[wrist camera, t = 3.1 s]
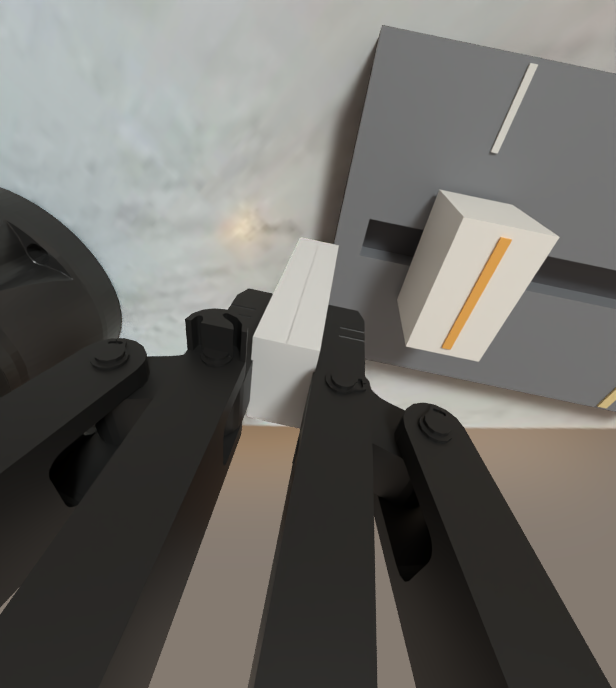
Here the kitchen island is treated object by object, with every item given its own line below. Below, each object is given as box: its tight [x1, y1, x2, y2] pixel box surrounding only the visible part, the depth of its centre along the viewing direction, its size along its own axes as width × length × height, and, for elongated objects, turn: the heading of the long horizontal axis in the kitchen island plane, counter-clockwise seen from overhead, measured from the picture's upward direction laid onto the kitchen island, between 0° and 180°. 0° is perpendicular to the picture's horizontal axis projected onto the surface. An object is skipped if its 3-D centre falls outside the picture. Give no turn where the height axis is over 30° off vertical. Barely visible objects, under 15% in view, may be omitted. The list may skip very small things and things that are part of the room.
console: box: [328, 25, 616, 412], centre depth 18 cm, size 26×16×3 cm, turn 80°
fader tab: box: [397, 189, 559, 362], centre depth 16 cm, size 4×6×6 cm, turn 170°
